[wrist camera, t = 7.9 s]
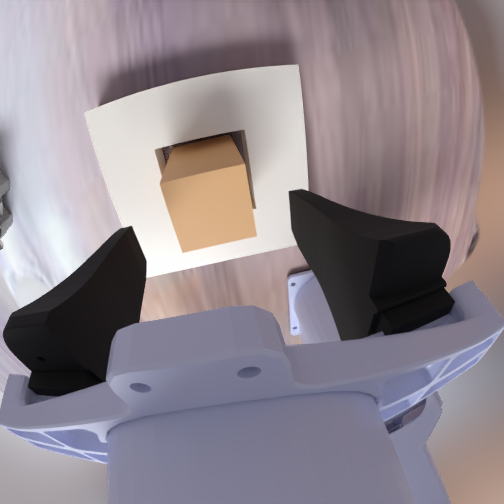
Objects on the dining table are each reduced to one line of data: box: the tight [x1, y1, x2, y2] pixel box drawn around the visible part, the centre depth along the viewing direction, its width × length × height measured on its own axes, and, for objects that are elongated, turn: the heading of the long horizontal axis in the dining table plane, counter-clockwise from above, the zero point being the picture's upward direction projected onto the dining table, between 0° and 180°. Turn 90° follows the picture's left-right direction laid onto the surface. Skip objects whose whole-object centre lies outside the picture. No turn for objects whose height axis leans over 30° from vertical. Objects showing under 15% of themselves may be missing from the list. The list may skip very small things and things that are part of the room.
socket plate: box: [84, 65, 309, 278], centre depth 18 cm, size 13×13×2 cm
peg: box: [160, 135, 257, 253], centre depth 16 cm, size 4×4×7 cm
